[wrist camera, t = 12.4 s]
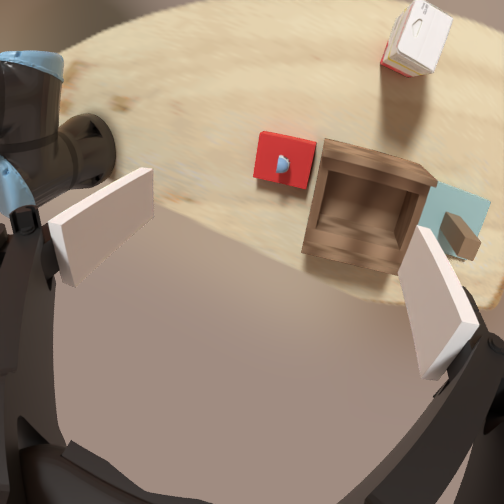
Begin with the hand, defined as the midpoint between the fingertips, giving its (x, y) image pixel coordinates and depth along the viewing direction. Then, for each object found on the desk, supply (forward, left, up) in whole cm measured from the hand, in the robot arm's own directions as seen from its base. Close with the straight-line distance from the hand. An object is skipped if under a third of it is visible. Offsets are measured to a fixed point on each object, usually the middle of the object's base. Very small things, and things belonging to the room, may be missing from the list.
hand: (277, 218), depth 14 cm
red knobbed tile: (-4, -5, -33) cm, 33 cm away
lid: (+25, -8, -33) cm, 41 cm away
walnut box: (+9, -8, -32) cm, 34 cm away
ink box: (+11, +16, -32) cm, 38 cm away
